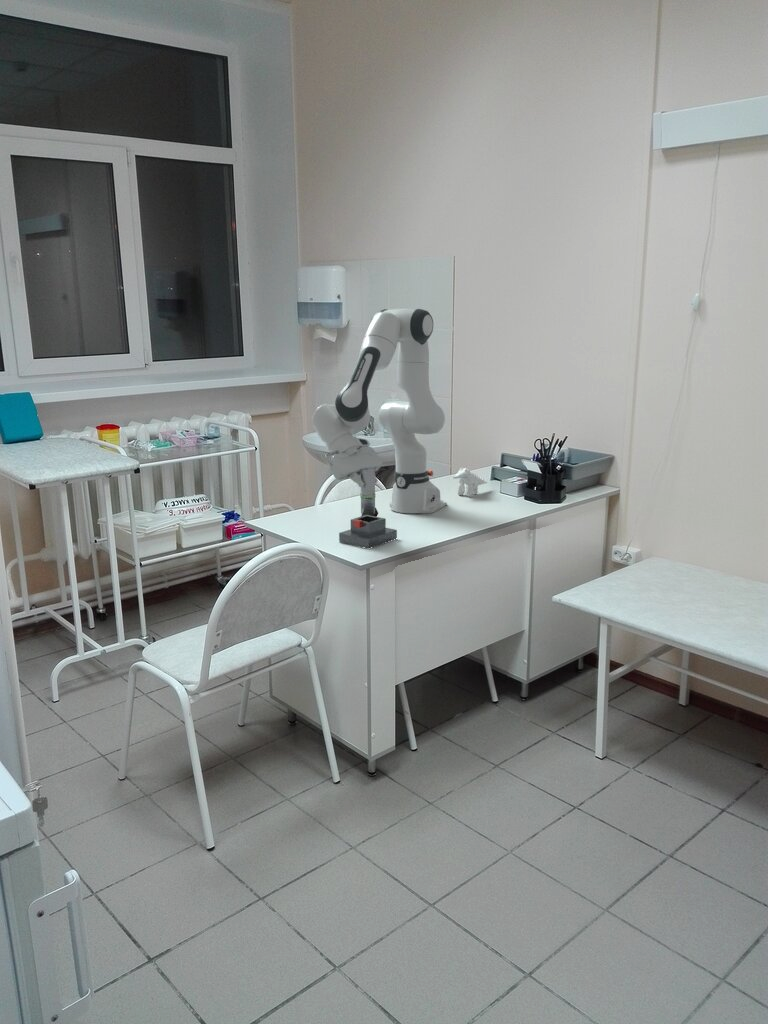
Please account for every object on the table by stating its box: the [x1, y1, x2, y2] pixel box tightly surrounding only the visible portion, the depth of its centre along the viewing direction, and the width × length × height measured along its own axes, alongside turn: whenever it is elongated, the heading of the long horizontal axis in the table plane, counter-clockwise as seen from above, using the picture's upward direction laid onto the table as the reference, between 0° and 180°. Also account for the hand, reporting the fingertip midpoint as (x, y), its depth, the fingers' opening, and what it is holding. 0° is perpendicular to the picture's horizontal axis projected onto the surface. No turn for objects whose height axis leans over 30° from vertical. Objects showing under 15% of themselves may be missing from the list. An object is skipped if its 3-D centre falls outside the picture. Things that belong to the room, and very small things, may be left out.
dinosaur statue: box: [452, 467, 488, 497], centre depth 319 cm, size 7×24×11 cm, turn 139°
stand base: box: [338, 515, 398, 549], centre depth 257 cm, size 14×12×8 cm
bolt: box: [360, 507, 379, 517], centre depth 276 cm, size 6×5×15 cm
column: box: [359, 468, 376, 515], centre depth 254 cm, size 5×5×14 cm
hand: (369, 484), depth 253 cm, fingers closed on column, 4 cm apart
